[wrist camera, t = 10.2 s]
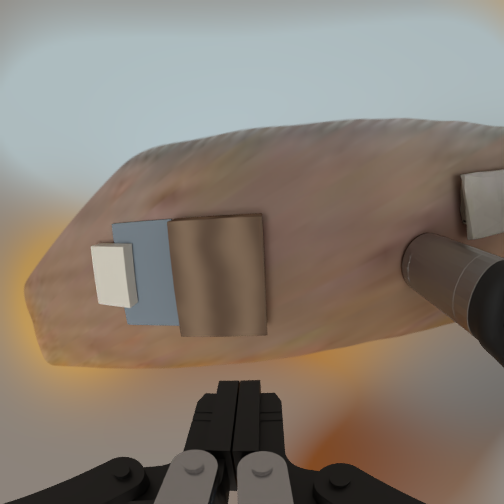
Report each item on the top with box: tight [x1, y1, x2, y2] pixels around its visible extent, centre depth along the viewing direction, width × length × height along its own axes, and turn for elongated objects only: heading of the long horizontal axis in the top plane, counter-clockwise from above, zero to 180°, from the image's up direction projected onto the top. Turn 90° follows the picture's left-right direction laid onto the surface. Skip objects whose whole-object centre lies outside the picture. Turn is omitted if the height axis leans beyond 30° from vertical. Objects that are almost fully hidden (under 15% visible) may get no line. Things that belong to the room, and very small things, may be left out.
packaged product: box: [460, 169, 504, 240], centre depth 37 cm, size 18×5×10 cm
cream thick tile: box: [91, 243, 138, 308], centre depth 42 cm, size 6×9×2 cm, turn 1°
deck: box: [167, 213, 267, 337], centre depth 41 cm, size 12×16×4 cm
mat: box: [112, 219, 179, 326], centre depth 43 cm, size 10×16×1 cm, turn 3°
